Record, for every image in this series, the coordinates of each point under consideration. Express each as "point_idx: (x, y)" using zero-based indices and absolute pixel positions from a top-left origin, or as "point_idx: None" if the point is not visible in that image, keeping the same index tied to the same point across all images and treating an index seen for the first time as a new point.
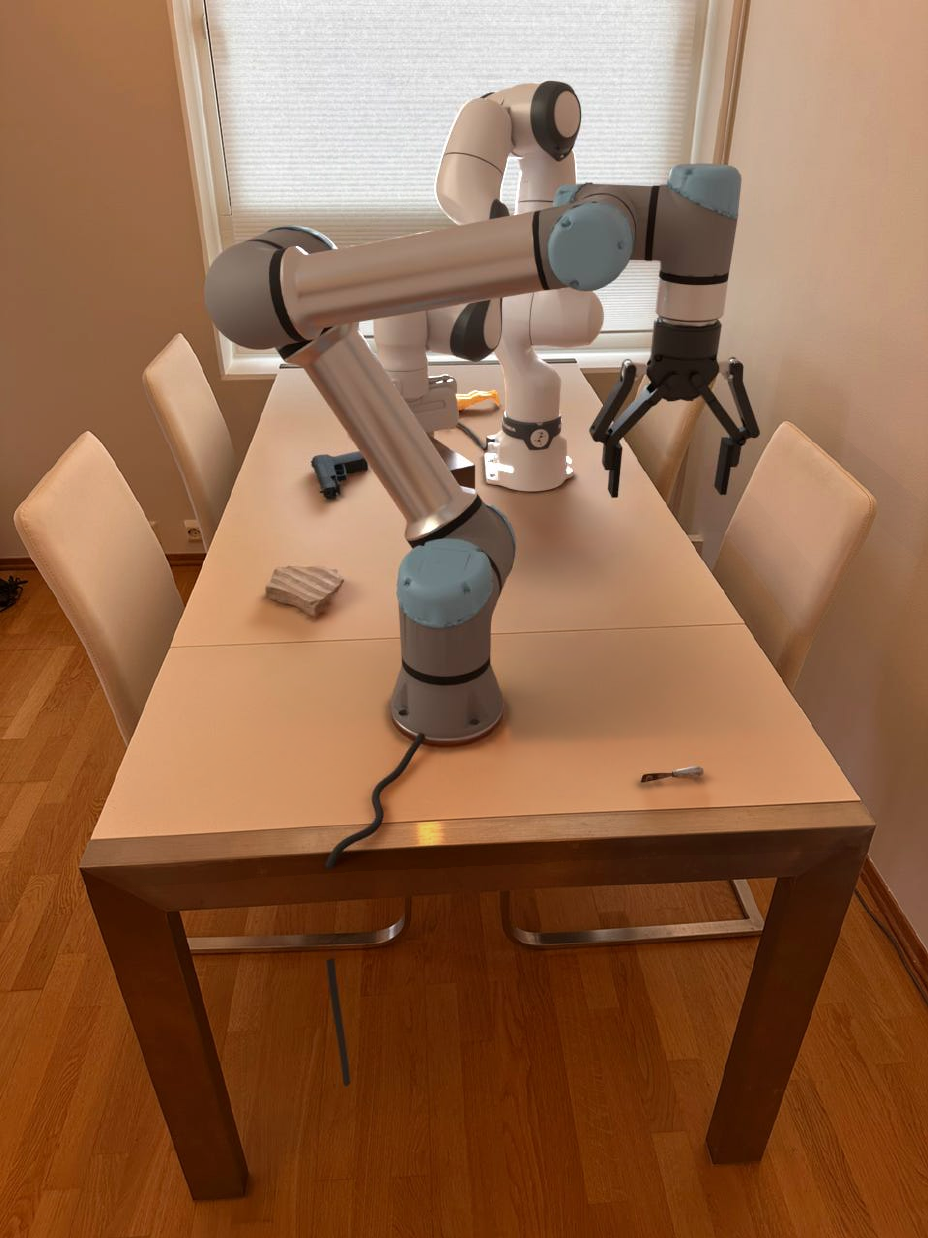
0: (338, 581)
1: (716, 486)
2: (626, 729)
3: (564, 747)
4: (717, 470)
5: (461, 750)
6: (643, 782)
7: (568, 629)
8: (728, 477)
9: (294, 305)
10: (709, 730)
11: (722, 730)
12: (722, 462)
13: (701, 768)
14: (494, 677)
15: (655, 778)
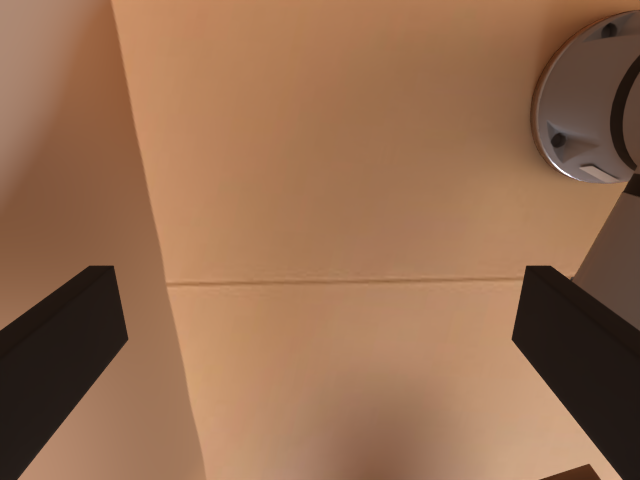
0: None
1: (118, 321)
2: (369, 45)
3: (467, 6)
4: (87, 375)
5: (613, 8)
6: None
7: (394, 284)
8: (42, 303)
9: None
10: (252, 35)
11: (233, 34)
12: (36, 376)
13: None
14: (584, 95)
15: None
